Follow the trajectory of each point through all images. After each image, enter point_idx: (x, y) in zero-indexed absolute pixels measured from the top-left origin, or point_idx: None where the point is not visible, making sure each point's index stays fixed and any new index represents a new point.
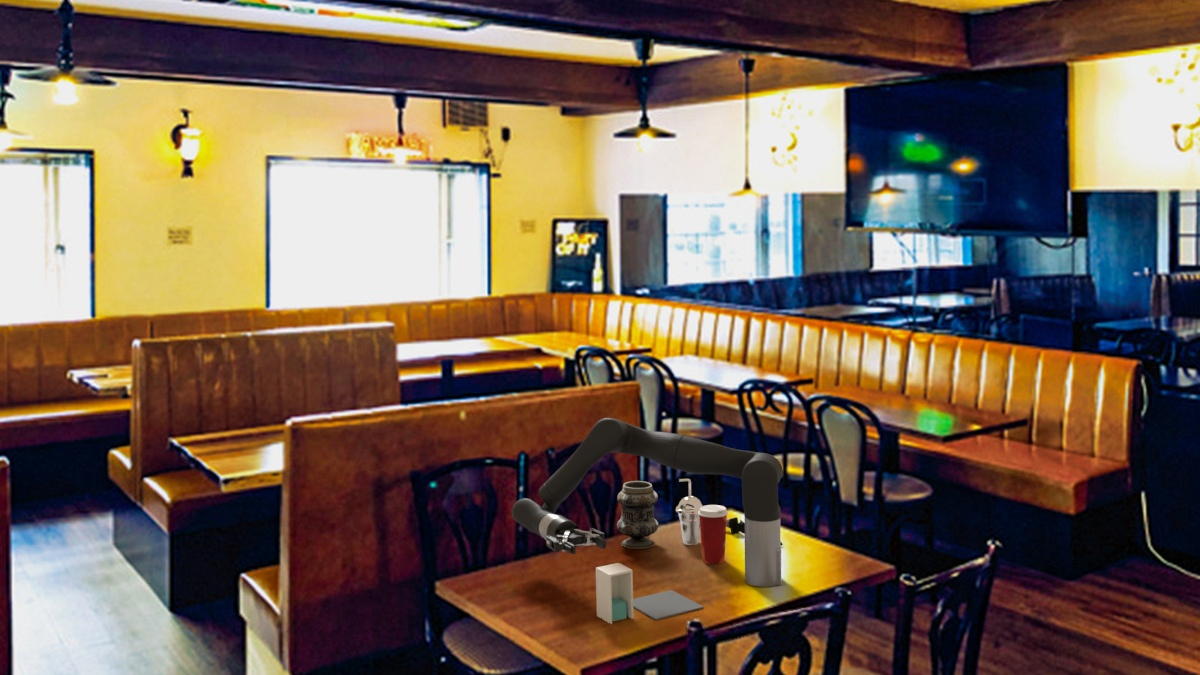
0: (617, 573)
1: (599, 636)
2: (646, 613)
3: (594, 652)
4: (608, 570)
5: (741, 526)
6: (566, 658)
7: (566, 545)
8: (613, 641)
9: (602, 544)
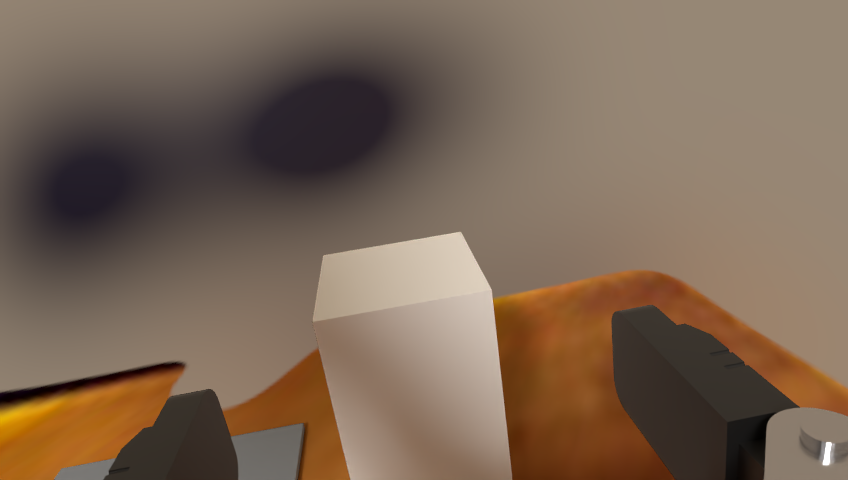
0: (413, 241)
1: (561, 369)
2: (296, 471)
3: (600, 303)
4: (437, 260)
5: None
6: (690, 291)
7: (750, 376)
8: (524, 338)
9: (221, 436)
